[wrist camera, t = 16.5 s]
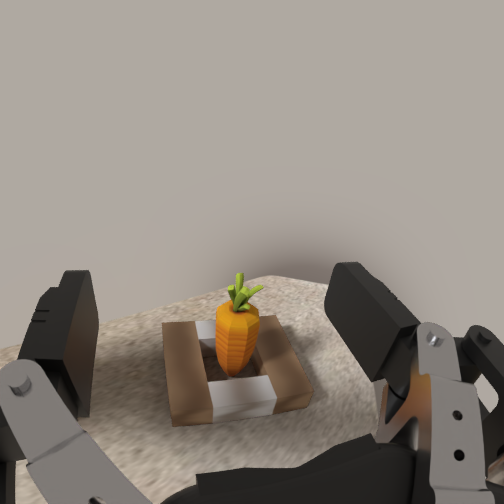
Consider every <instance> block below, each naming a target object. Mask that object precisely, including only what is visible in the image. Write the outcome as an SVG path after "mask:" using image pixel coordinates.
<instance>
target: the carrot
mask: <svg viewBox="0 0 504 504" xmlns="http://www.w3.org/2000/svg"><path fill="white" fill-rule="evenodd" d="M243 280H244V275H243V273H238V274H237V275H236V290H235V286H234V285H230V286H229V287H228V292H229V295H230V298H231V300H229V301H228V302H226V303H224V304H222V305H221V306H219V307H218V308H217V311H216V334H215V339H216V352H217V357H218V361H219V364H220V366H221V368H222V369H223V371H224V372H225V373H226V374H227V375H228V376H229V377H233V376H235V375H236V374H237V373H239V372H240V371H241V370H242V369H243V368H244V367H245V366H246V365H247V363H248V361H249V359H250V357H251V355H252V353H253V351H254V348H255V344H256V340H257V336H258V332H259V327H260V321H259V312H258V309H257V308H256V307H254V306H253V305H251V304H250V303H248V300H249V298H250V297H251V296H252V295H253V294H255V293H256V292H257V291H259V290H261V289H263V286H262V285H258V286H256V287H254V288H252V289H251V290H250V289H248V288H247V287H244V286H243ZM249 290H250V291H249Z"/></svg>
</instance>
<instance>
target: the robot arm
mask: <svg viewBox="0 0 504 504" xmlns="http://www.w3.org/2000/svg"><path fill="white" fill-rule="evenodd" d="M324 308H325V313H326V315H327V317H328V318H329V320H330V321H331V323H332V324H333V326H334V327H335V329H336V330H337V332H338V333H339V335H340V336H341V338H342V339H343V341H344V342H345V344H346V345H347V346H348V348H349V349H350V351H351V352H352V354H353V355H354V357H355V358H356V360H357V361H358V363H359V364H360V366H361V367H362V369H363V370H364V372H365V374H366V375H367V377H368V378H369V380H370V381H371V382H374V381H377V380H381V379H384V378H385V379H386V381H387V382H386V384H385V386H384V388H383V395H382V404H381V411H380V418H379V425H378V431H377V434H376V437H375V439H374V438H373V436H372V434H371V433H370V434H367V435H364V436H362V437H359V438H356V439H353V440H350V441H347V442H344V443H341V444H338V445H335V446H333V447H332V448H330V449H329V450H327V451H325V452H324V453H322V454H320V455H319V456H317V457H315V458H314V459H312V460H310V461H308V462H307V463H305V464H303V465H301V466H299V467H296V468H239V469H233V470H226V471H219V472H211V473H202V474H196V485H193V486H190V487H187V488H185V489H183V490H181V491H179V492H176V493H175V494H173V495H172V496H170V497H168V498H167V499H165V500H164V501H163V502H162V503H160V504H504V345H503V344H502V343H501V342H500V341H499V339H498V338H497V337H496V336H495V335H494V334H493V333H492V332H491V331H489V330H488V329H486V328H485V327H482V326H478V325H474V326H471V327H470V328H469V330H468V332H467V333H466V335H465V337H464V338H459V337H452V335H451V334H450V333H449V332H448V331H447V330H446V329H445V328H443V327H442V326H440V325H438V324H435V323H430V322H425V323H422V324H421V323H420V321H419V320H418V319H417V318H416V317H415V316H414V315H413V314H412V313H411V312H410V311H409V310H408V309H407V308H406V306H405V305H404V304H402V302H401V301H400V300H397V297H396V296H395V295H394V294H393V293H391V292H390V290H389V289H388V288H387V287H386V286H385V285H384V284H383V283H382V282H381V281H379V280H378V279H376V278H374V277H373V276H372V275H371V274H370V273H369V272H368V271H367V270H366V269H365V268H364V267H363V266H362V265H361V264H360V263H358V262H342V263H337V264H336V265H335V267H334V269H333V272H332V276H331V280H330V283H329V286H328V290H327V293H326V296H325V301H324ZM98 330H99V319H98V311H97V306H96V302H95V296H94V291H93V285H92V280H91V275H90V272H89V270H75V271H74V270H72V271H65V272H64V274H63V277H62V279H61V282H60V284H59V287H50V288H49V290H47V291H46V292H45V294H43V295H42V297H40V299H39V302H38V304H37V307H36V309H35V312H34V314H33V316H32V319H31V323H30V324H29V327H28V330H27V332H26V335H25V338H24V341H23V343H22V346H21V349H20V352H19V355H18V358H17V360H15V361H12V362H10V363H8V364H6V365H5V366H4V367H3V368H2V369H1V370H0V504H15V469H16V461H18V460H24V459H27V461H28V464H27V465H26V467H27V470H28V472H29V474H30V476H31V478H32V479H33V481H34V483H35V484H36V486H37V488H38V489H39V491H40V492H41V494H42V495H43V497H44V498H45V500H46V501H47V503H48V504H153V503H152V502H150V501H149V500H148V499H147V498H146V497H145V496H144V495H143V494H142V493H141V492H140V491H139V490H138V489H137V488H136V487H135V486H134V485H133V484H132V483H131V482H130V481H129V480H128V479H127V478H126V477H125V476H124V474H123V473H122V472H121V471H120V470H119V469H118V468H117V467H116V466H115V465H114V463H113V462H112V461H111V460H110V459H109V458H108V457H107V455H106V454H105V453H104V452H103V451H102V450H101V448H100V447H99V446H98V445H97V443H96V442H95V441H94V440H93V439H92V437H91V436H90V435H89V434H88V433H87V432H86V431H84V430H83V429H82V428H81V426H80V425H79V424H78V422H77V417H89V413H90V399H91V387H92V377H93V368H94V359H95V351H96V344H97V337H98ZM481 374H483V375H484V376H485V378H486V379H487V380H488V381H489V383H490V384H491V385H492V386H493V388H494V389H495V391H496V392H497V394H498V398H499V400H498V404H497V406H496V407H495V408H494V410H493V411H492V412H491V413H489V412H488V410H487V409H486V407H485V406H484V405H483V403H482V402H481V401H480V399H479V398H478V394H477V389H476V387H475V385H474V383H475V382H476V380H477V379H478V378H479V376H480V375H481ZM485 476H486V479H485Z"/></svg>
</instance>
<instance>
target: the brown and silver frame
mask: <svg viewBox="0 0 504 504" xmlns="http://www.w3.org/2000/svg"><path fill="white" fill-rule="evenodd" d="M259 321H260V327H259V332H258V336H257V340H256V344H255V348H254V351H253V353H252V355H251V360H252V363H253V365H254V368H255V371H256V374H257V377H249V378H241V379H233V380H224V381H214V382H207V377H206V373H205V368H204V363H203V359H202V357H211V356H217V352H216V339H215V334H216V320H206V321H189V322H167V323H162V333H163V346H164V358H165V369H166V379H167V388H168V397H169V405H170V413H171V419H172V426H173V427H177V426H190V425H201V424H211V423H219V422H227V421H235V420H242V419H248V418H255V417H261V416H267V415H272V414H277V413H283V412H288V411H292V410H297V409H302V408H306V407H307V406H308V404H309V401H310V399H311V397H312V395H313V392H314V390H313V388H312V386H311V384H310V382H309V380H308V378H307V376H306V374H305V372H304V370H303V368H302V366H301V364H300V362H299V360H298V358H297V356H296V354H295V352H294V350H293V348H292V346H291V344H290V342H289V340H288V338H287V336H286V334H285V332H284V330H283V328H282V326H281V325H280V323H279V321H278V319H277V317H276V315H271V316H260V317H259Z"/></svg>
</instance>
